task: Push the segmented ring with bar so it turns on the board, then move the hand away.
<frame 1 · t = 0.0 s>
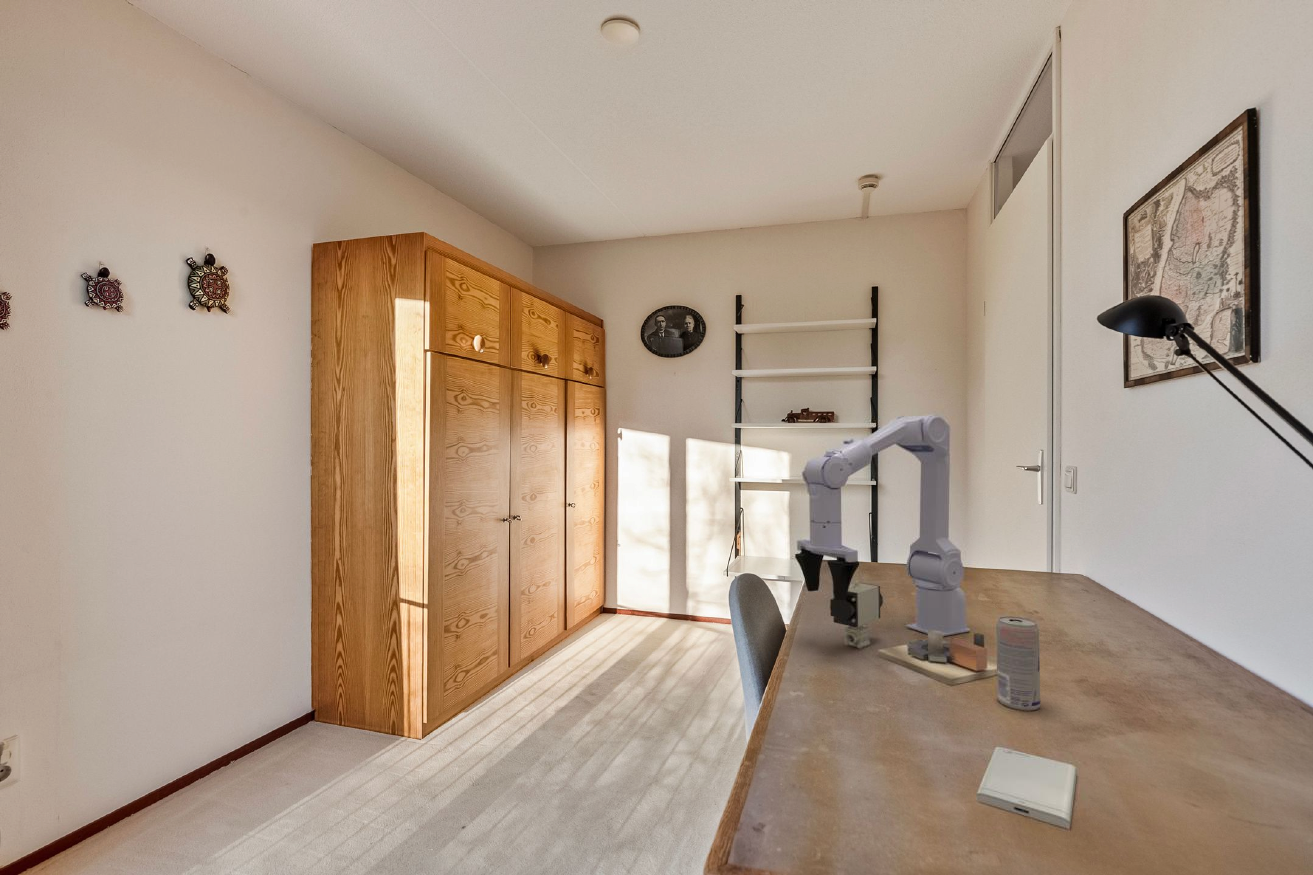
hand: (826, 594, 114), 10 cm above the table, tool pointing down, fingers open, 7 cm apart
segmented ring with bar: (946, 647, 106), point 3 cm above the table, hinge at 0.0°
board: (935, 660, 108), on the table
hard drive: (1028, 794, 68), on the table
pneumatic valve: (855, 645, 117), on the table
energy drink: (1018, 704, 90), on the table
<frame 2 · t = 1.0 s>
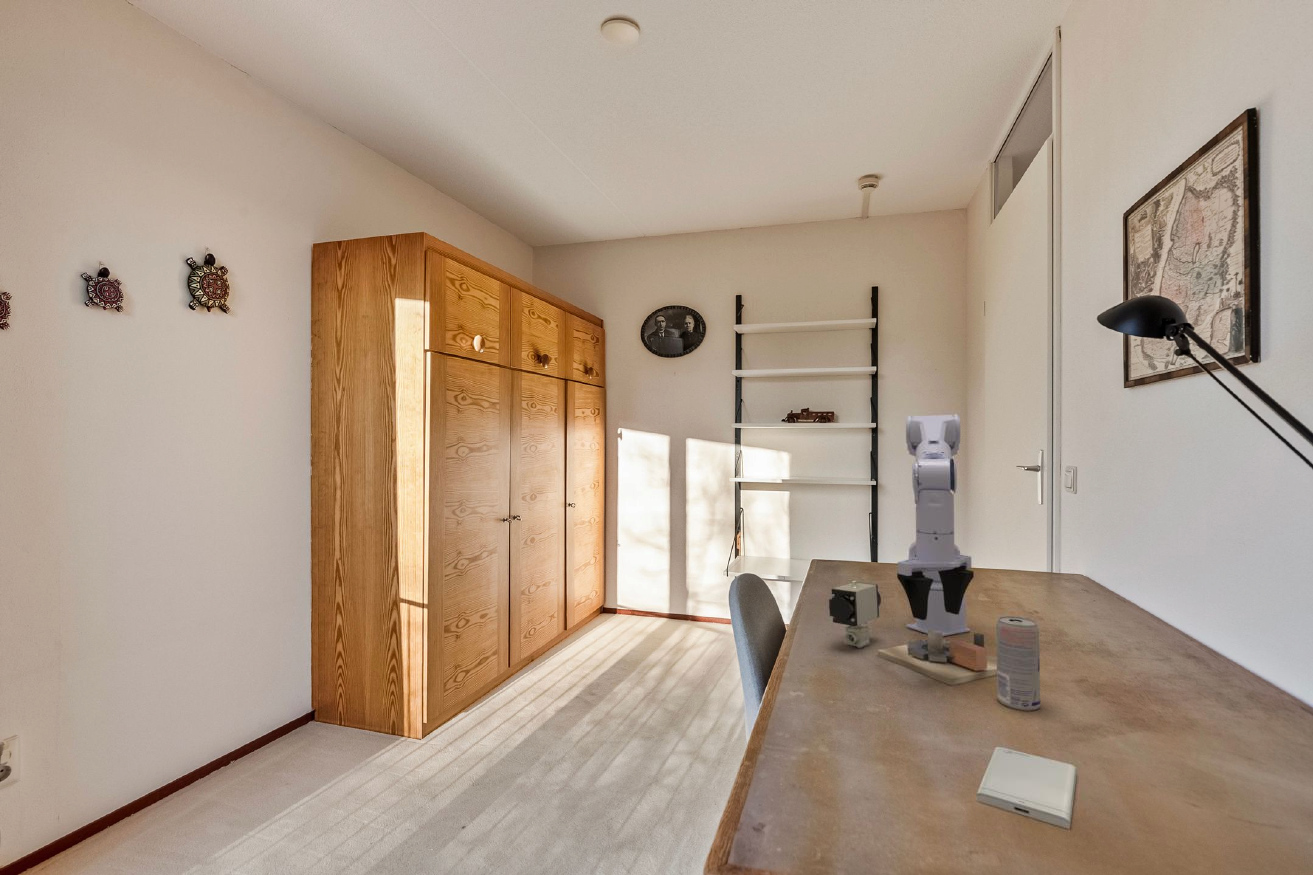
hand: (936, 615, 100), 10 cm above the table, tool pointing down, fingers open, 7 cm apart
nothing on the table moved.
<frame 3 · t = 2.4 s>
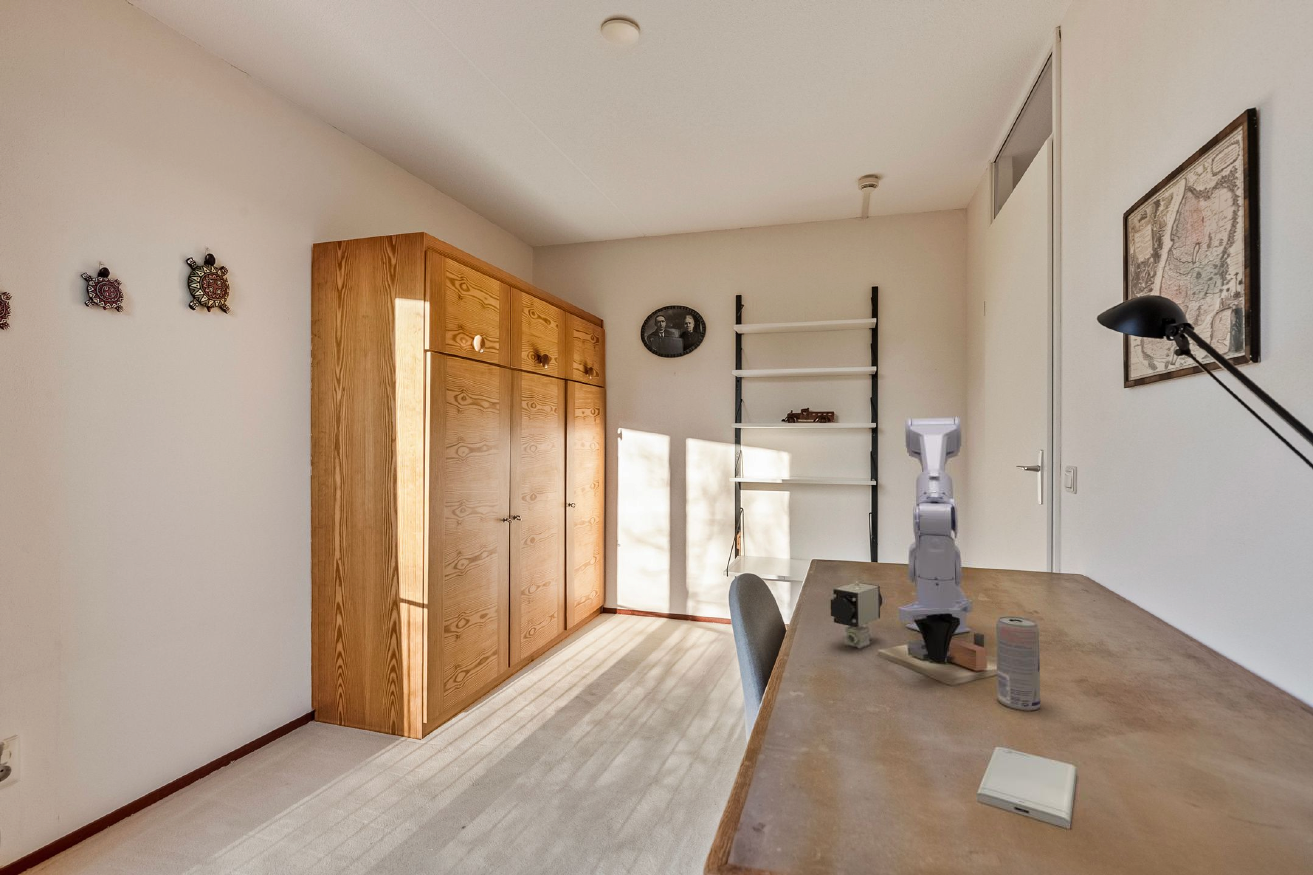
hand: (936, 660, 100), 3 cm above the table, tool pointing down, fingers closed
nothing on the table moved.
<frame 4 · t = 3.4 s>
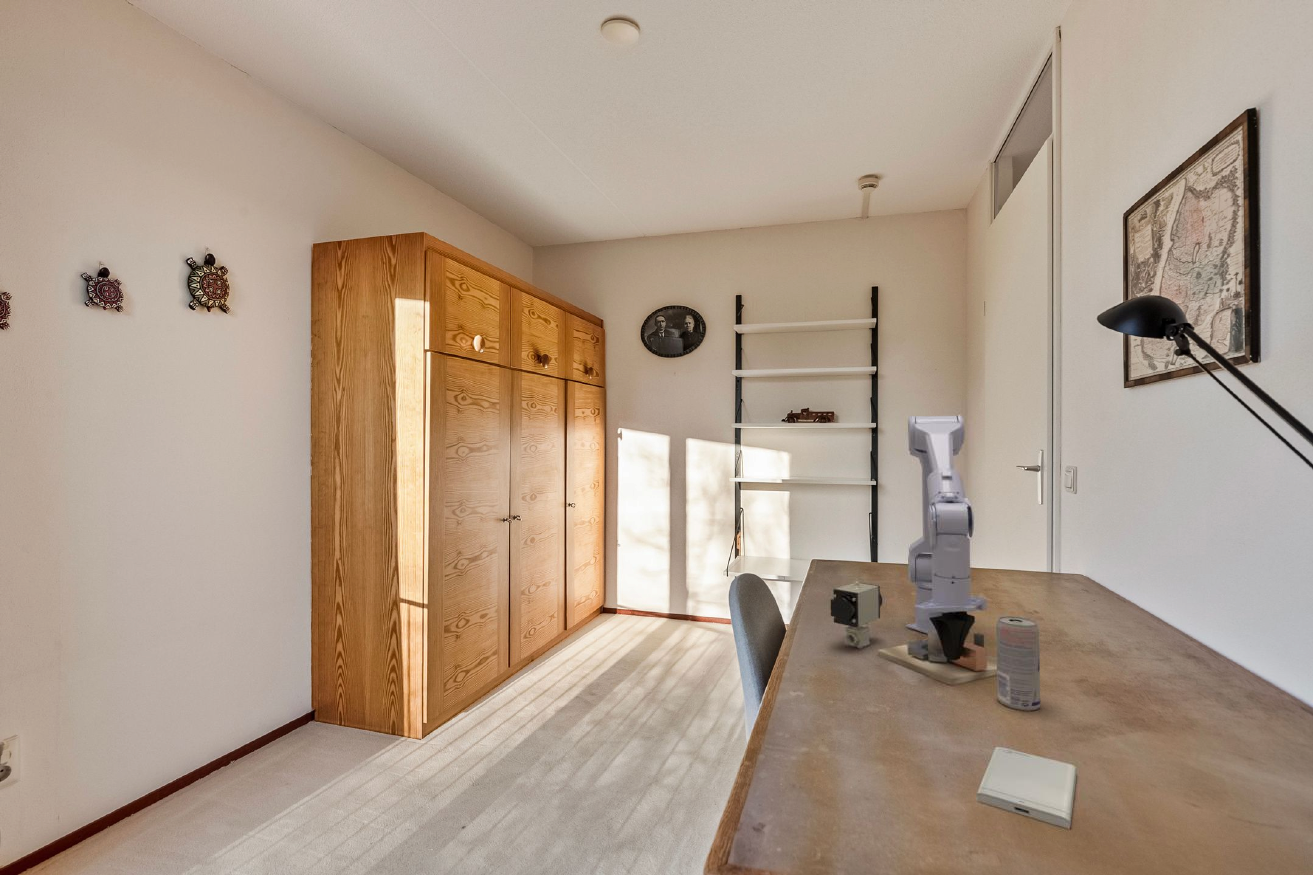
hand: (952, 657, 102), 3 cm above the table, tool pointing down, fingers closed, pressing on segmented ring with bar
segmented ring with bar: (946, 647, 106), point 3 cm above the table, hinge at 0.0°, touching gripper
everything else where it was.
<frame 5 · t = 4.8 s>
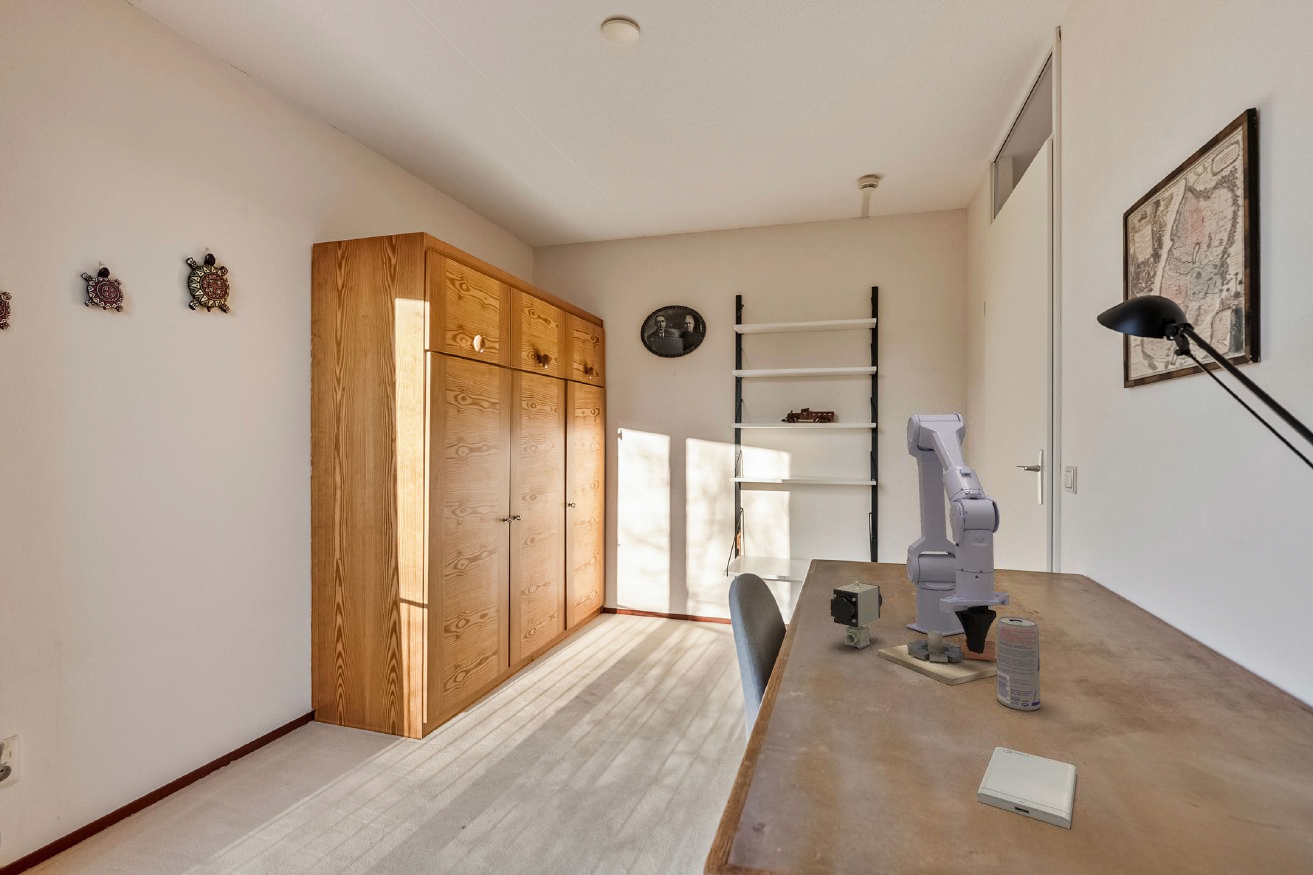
hand: (976, 651, 103), 3 cm above the table, tool pointing down, fingers closed, pressing on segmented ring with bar
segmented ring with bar: (949, 644, 107), point 3 cm above the table, hinge at 47.0°, touching board, gripper
everything else where it was.
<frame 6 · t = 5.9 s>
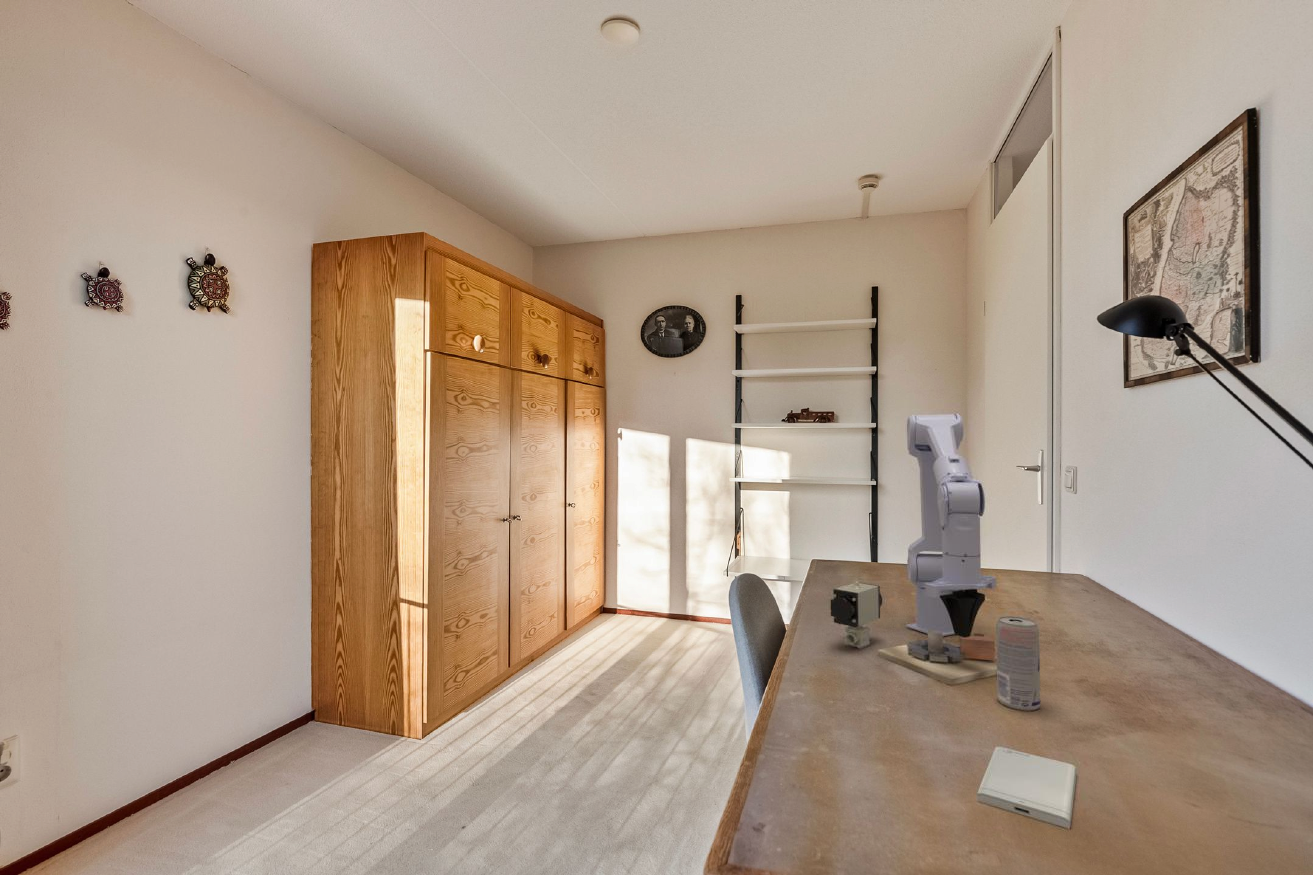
hand: (962, 635, 103), 6 cm above the table, tool pointing down, fingers closed
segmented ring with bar: (949, 644, 107), point 3 cm above the table, hinge at 46.9°
everything else where it was.
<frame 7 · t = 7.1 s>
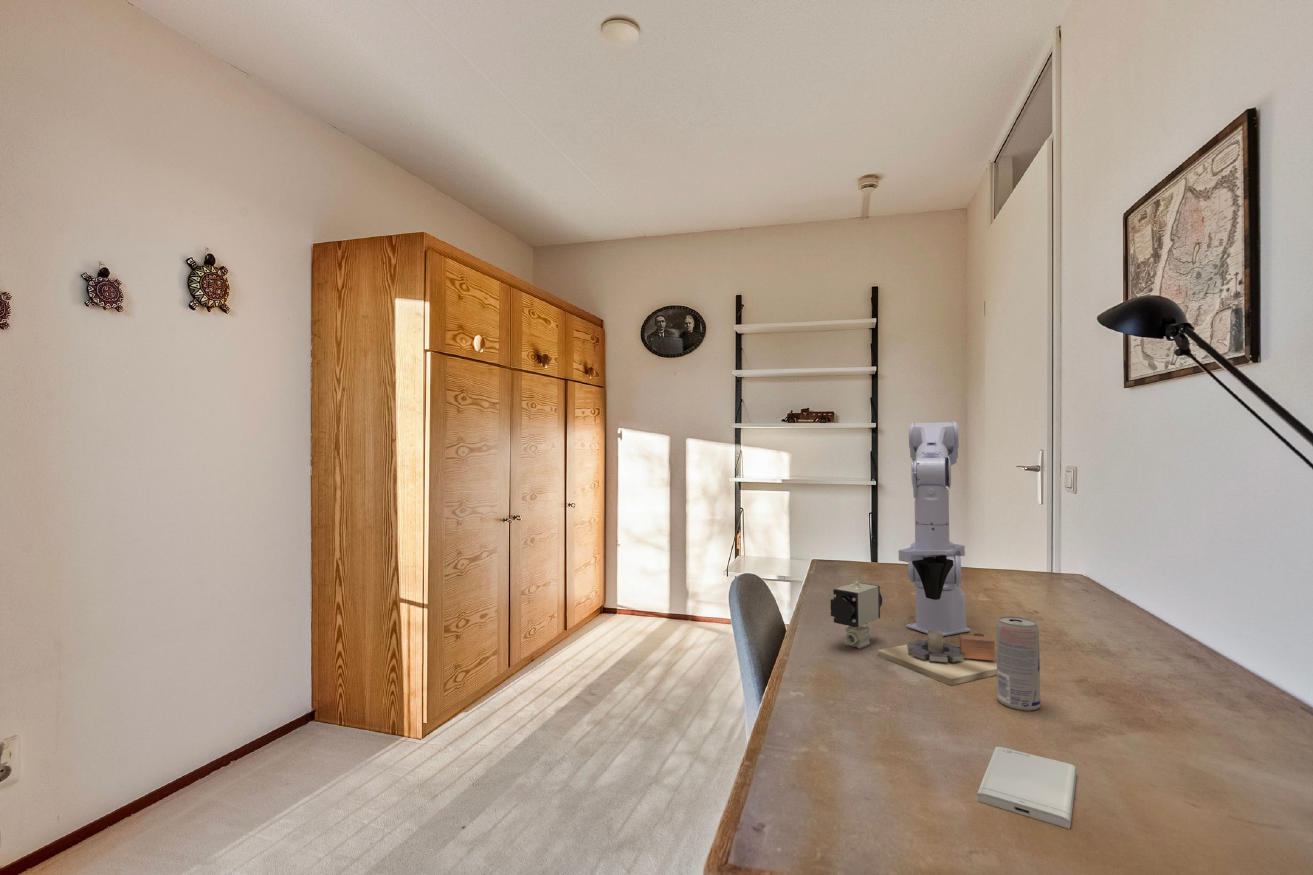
hand: (932, 598, 112), 10 cm above the table, tool pointing down, fingers closed
nothing on the table moved.
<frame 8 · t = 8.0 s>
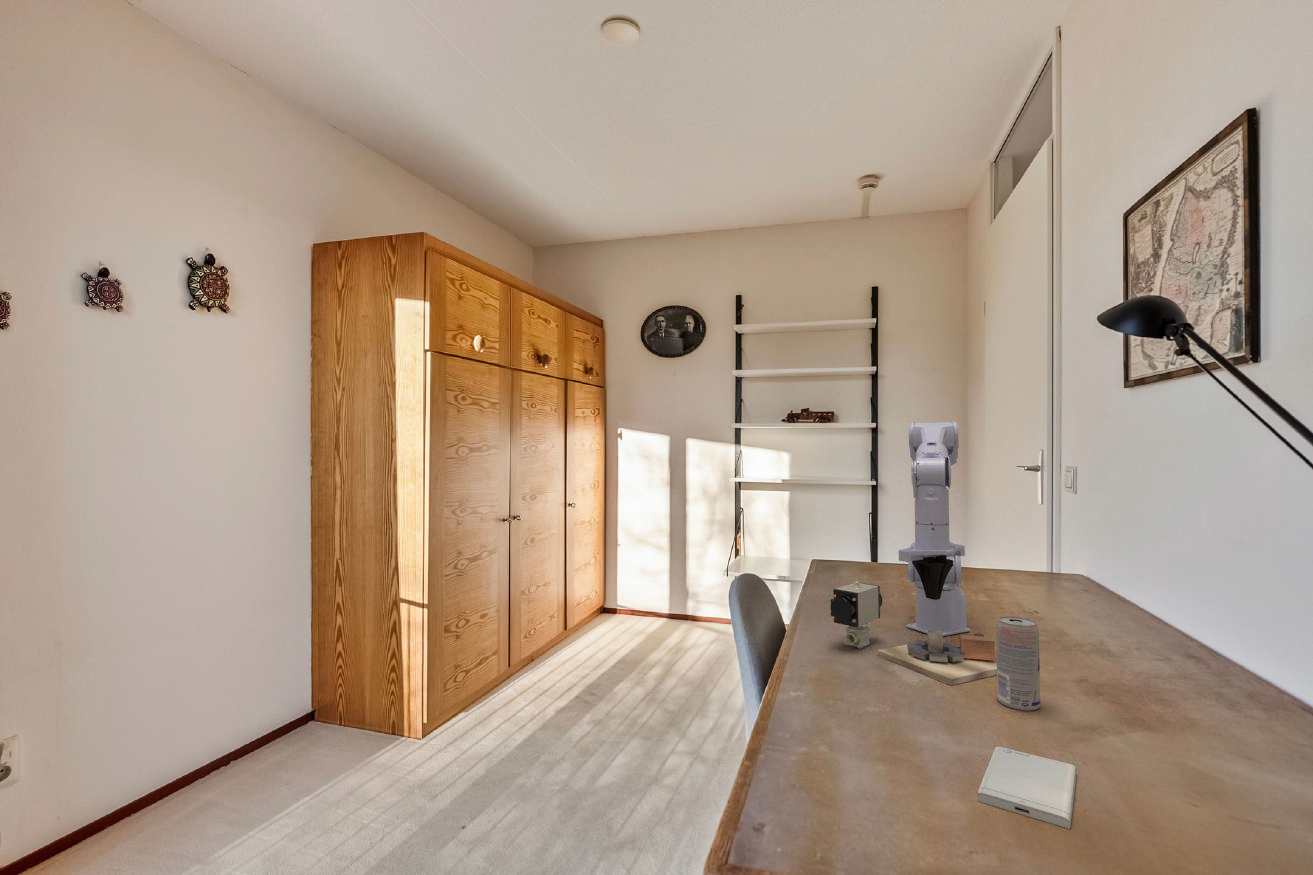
hand: (932, 598, 112), 10 cm above the table, tool pointing down, fingers closed
nothing on the table moved.
at the end: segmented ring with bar at +47° (first picture: +0°) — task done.
